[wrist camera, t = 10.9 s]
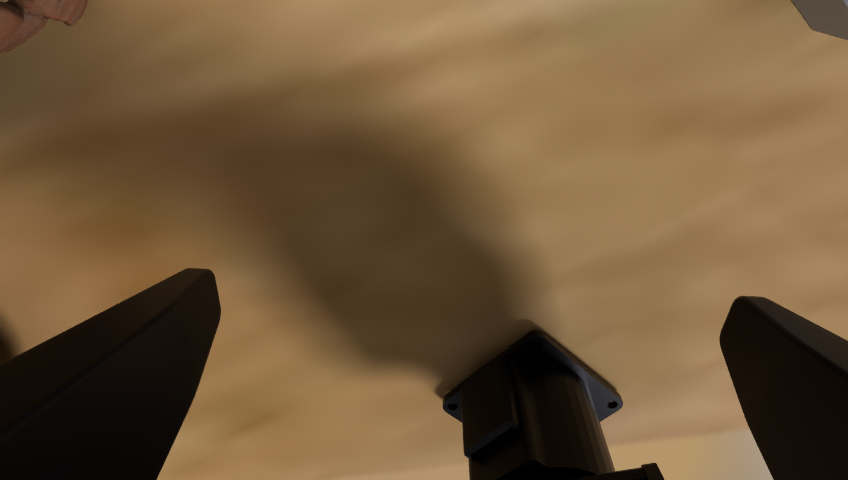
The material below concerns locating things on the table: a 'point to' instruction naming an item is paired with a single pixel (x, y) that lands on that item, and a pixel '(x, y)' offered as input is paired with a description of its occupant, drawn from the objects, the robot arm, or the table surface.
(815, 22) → the socket block
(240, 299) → the table surface
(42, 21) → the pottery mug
